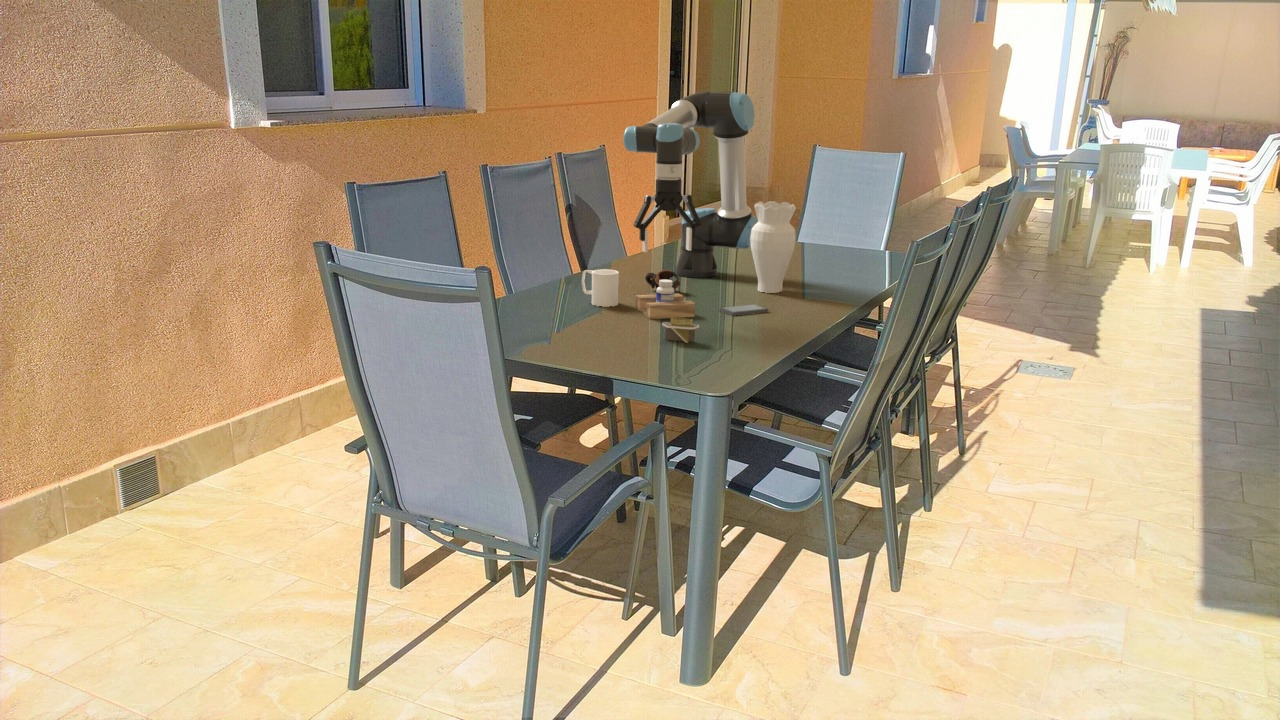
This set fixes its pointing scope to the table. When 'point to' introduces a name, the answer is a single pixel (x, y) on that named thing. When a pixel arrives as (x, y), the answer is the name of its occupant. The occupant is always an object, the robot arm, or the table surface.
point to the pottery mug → (662, 278)
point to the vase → (772, 243)
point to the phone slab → (743, 309)
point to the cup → (603, 287)
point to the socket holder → (664, 307)
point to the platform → (680, 330)
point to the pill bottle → (665, 291)
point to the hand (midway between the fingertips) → (666, 250)
